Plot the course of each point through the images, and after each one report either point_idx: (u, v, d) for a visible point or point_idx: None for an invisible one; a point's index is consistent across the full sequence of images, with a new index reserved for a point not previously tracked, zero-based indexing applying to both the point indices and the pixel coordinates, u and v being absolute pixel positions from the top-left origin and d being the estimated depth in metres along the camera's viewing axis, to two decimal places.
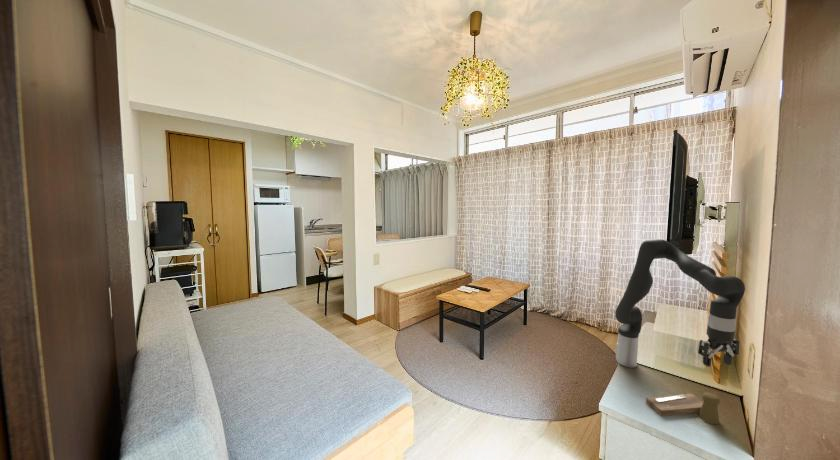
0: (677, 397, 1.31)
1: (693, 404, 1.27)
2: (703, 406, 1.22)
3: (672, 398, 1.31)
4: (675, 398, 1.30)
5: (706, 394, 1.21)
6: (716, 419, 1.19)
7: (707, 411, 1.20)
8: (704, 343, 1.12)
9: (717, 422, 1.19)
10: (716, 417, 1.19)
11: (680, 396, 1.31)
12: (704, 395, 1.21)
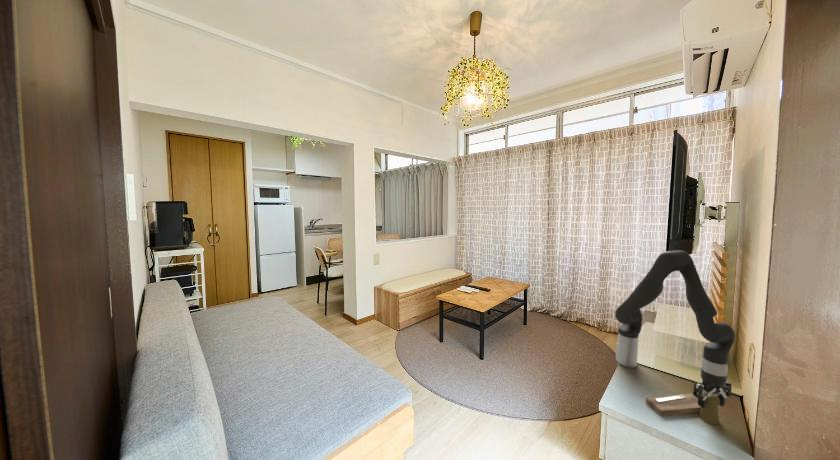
0: (677, 397, 1.31)
1: (693, 404, 1.27)
2: None
3: (672, 398, 1.31)
4: (675, 398, 1.30)
5: None
6: (716, 419, 1.19)
7: (707, 411, 1.20)
8: (698, 386, 1.19)
9: (717, 422, 1.19)
10: (716, 417, 1.19)
11: (680, 396, 1.31)
12: None
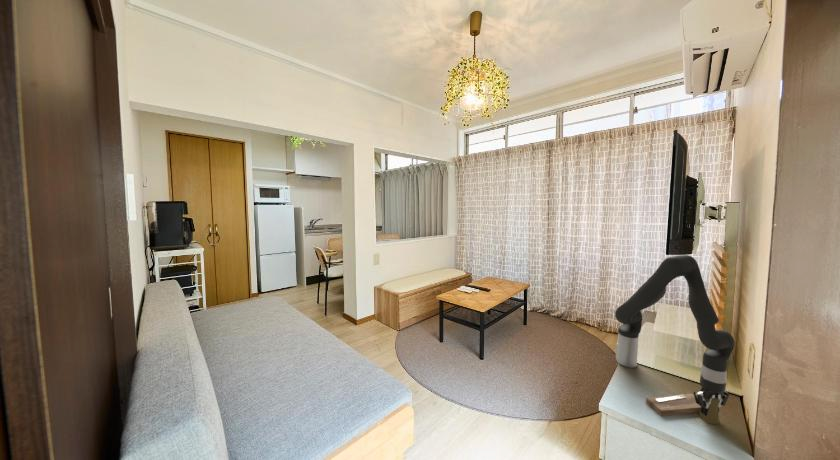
0: (677, 397, 1.31)
1: (693, 404, 1.27)
2: None
3: (672, 398, 1.31)
4: (675, 398, 1.30)
5: None
6: (716, 419, 1.19)
7: None
8: (697, 396, 1.20)
9: (717, 422, 1.19)
10: (716, 417, 1.19)
11: (680, 396, 1.31)
12: None
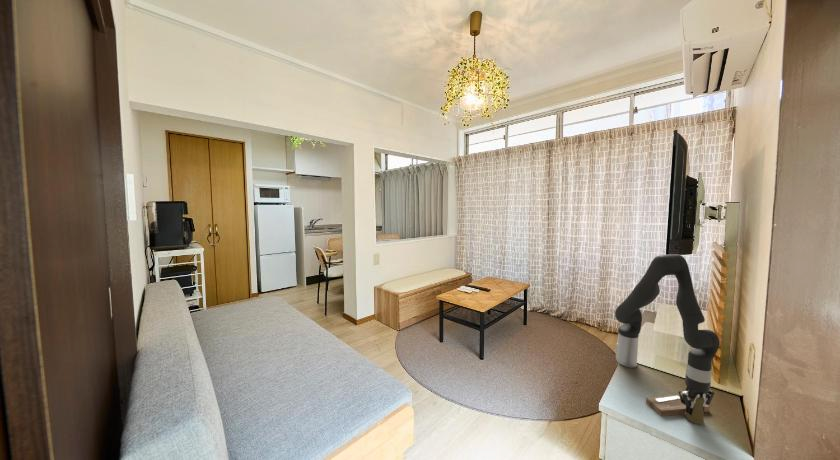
0: (677, 397, 1.31)
1: None
2: None
3: (672, 398, 1.31)
4: (675, 398, 1.30)
5: None
6: (701, 418, 1.19)
7: None
8: (682, 395, 1.19)
9: (702, 421, 1.19)
10: (701, 416, 1.19)
11: None
12: None
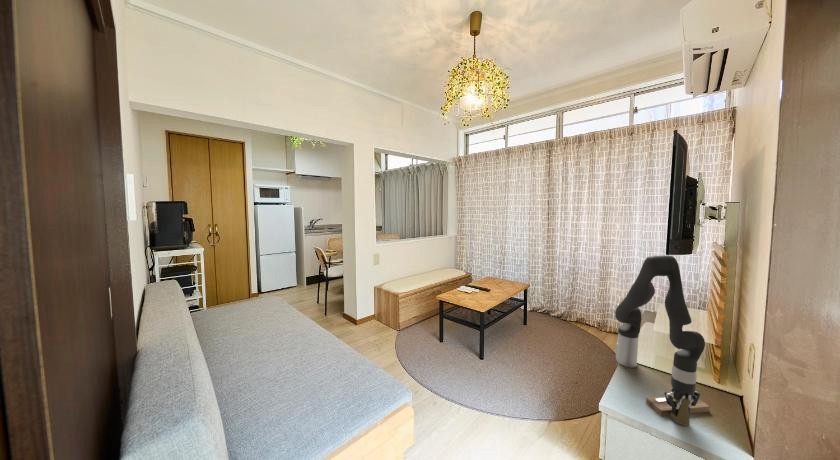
0: None
1: None
2: None
3: None
4: None
5: None
6: (686, 419, 1.18)
7: (678, 412, 1.20)
8: (668, 396, 1.19)
9: (687, 423, 1.19)
10: (686, 418, 1.18)
11: None
12: None
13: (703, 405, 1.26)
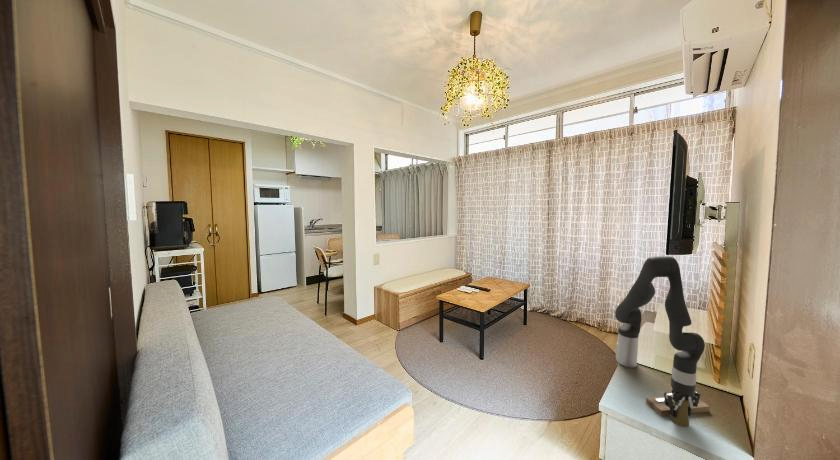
0: None
1: None
2: None
3: None
4: None
5: None
6: (686, 421, 1.19)
7: (677, 414, 1.20)
8: (667, 396, 1.19)
9: (687, 425, 1.19)
10: (686, 419, 1.19)
11: None
12: None
13: (703, 405, 1.26)
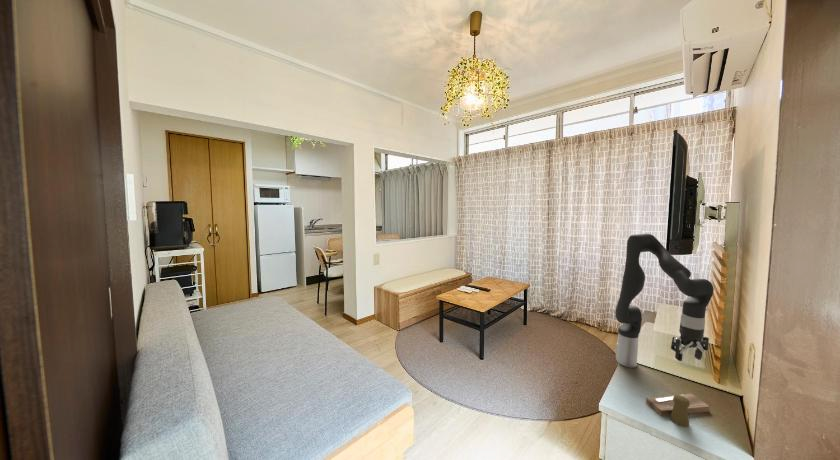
0: None
1: (693, 404, 1.27)
2: (674, 408, 1.21)
3: (672, 398, 1.31)
4: None
5: (676, 396, 1.21)
6: (686, 421, 1.19)
7: (677, 414, 1.20)
8: (676, 340, 1.22)
9: (687, 425, 1.19)
10: (686, 419, 1.19)
11: None
12: (675, 397, 1.21)
13: (703, 405, 1.26)
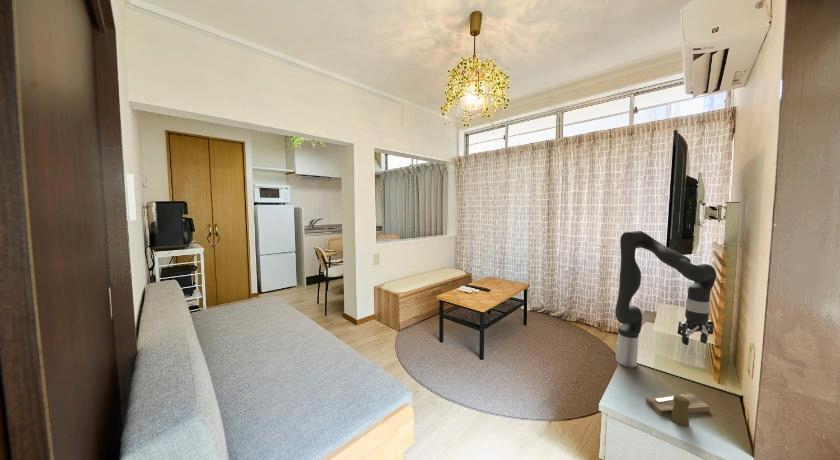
0: None
1: (693, 404, 1.27)
2: (674, 408, 1.21)
3: (672, 398, 1.31)
4: None
5: (677, 396, 1.21)
6: (686, 421, 1.19)
7: (677, 414, 1.20)
8: (682, 324, 1.26)
9: (687, 425, 1.19)
10: (686, 419, 1.19)
11: None
12: (675, 397, 1.21)
13: (703, 405, 1.26)
